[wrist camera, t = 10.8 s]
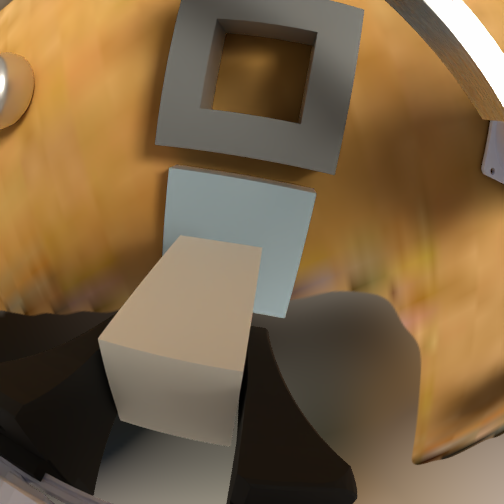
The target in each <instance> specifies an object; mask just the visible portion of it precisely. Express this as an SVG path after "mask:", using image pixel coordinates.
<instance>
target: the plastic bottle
mask: <svg viewBox="0 0 504 504" xmlns="http://www.w3.org/2000/svg"><path fill="white" fill-rule="evenodd" d="M33 90H34V73H33V70H32V68H31V66H30V64H29V63H28V61H27V60H26V59H25V58H24V57H22V56H20V55H17V54H14V53H9V52H6V53H0V130H1V129H3V128H6V127H8V126H10V125H13V124H14V123H15V122H17V121H18V119H19V118H20V117H21V116H22V115H23V114H24V113H25V111H26V110H27V108H28V106H29V104H30V101H31V98H32V95H33Z"/></svg>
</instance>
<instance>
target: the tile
mask: <svg viewBox="0 0 504 504" xmlns="http://www.w3.org/2000/svg"><path fill="white" fill-rule="evenodd" d="M315 198H316V192H315V190H314V188H309V187H304V186H300V185H295V184H290V183H285V182H280V181H275V180H269V179H264V178H259V177H253V176H248V175H242V174H236V173H230V172H224V171H218V170H211V169H205V168H198V167H191V166H184V165H175V166H172V167H170V168H169V174H168V184H167V194H166V206H165V220H164V235H163V254H162V256H163V255H164V254H165V253H166V251H167V250H168V249H169V248H170V247H171V245H172V244H173V243H174V242H175V241H176V240H177V238H178V237H179V236H180V235H183V236H189V237H196V238H203V239H209V240H216V241H223V242H229V243H236V244H242V245H249V246H256V247H262V253H261V260H260V267H259V273H258V280H257V287H256V293H255V300H254V306H253V313H258V314H264V315H269V316H275V317H280V318H285V315H286V312H287V308H288V304H289V301H290V297H291V294H292V290H293V286H294V282H295V279H296V275H297V271H298V267H299V263H300V260H301V256H302V252H303V248H304V244H305V240H306V236H307V232H308V228H309V223H310V219H311V215H312V211H313V207H314V202H315Z"/></svg>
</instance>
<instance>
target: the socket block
mask: <svg viewBox="0 0 504 504" xmlns="http://www.w3.org/2000/svg"><path fill="white" fill-rule="evenodd" d="M363 16H364V10H363V9H360V8H356V7H353V6H349V5H346V4H342V3H338V2H334V1H330V0H181V4H180V8H179V11H178V16H177V20H176V24H175V28H174V33H173V37H172V42H171V46H170V51H169V56H168V61H167V67H166V72H165V78H164V84H163V90H162V96H161V102H160V109H159V116H158V123H157V131H156V139H155V145H162V146H171V147H179V148H188V149H195V150H203V151H210V152H217V153H224V154H230V155H236V156H242V157H248V158H254V159H260V160H265V161H270V162H276V163H281V164H286V165H291V166H296V167H301V168H305V169H310V170H314V171H319V172H323V173H328V174H332V175H335V171H336V167H337V162H338V158H339V153H340V148H341V144H342V139H343V134H344V129H345V124H346V119H347V114H348V109H349V104H350V98H351V93H352V87H353V82H354V76H355V70H356V64H357V58H358V51H359V45H360V38H361V31H362V23H363ZM226 33H230V34H241V35H250V36H258V37H266V38H273V39H279V40H285V41H291V42H296V43H301V44H306V45H311V46H312V50H311V55H310V61H309V67H308V72H307V78H306V83H305V89H304V94H303V99H302V105H301V110H300V115H299V120H298V123H293V122H288V121H283V120H278V119H272V118H267V117H261V116H255V115H249V114H242V113H235V112H228V111H220V110H212V106H213V100H214V94H215V88H216V83H217V77H218V72H219V67H220V61H221V56H222V51H223V46H224V41H225V36H226Z"/></svg>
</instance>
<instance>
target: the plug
mask: <svg viewBox="0 0 504 504" xmlns="http://www.w3.org/2000/svg"><path fill="white" fill-rule="evenodd" d="M261 253H262V247H256V246H249V245H242V244H236V243H229V242H223V241H216V240H209V239H203V238H196V237H189V236H183V235H180V236H179V237H178V238H177V240H176V241H175V242H174V243H173V244H172V245H171V247H170V248H169V249H168V250H167V251H166V253H165V254H164V255H163V256H162V257H161V259H160V260H159V261H158V262H157V263H156V265H155V266H154V267H153V268H152V270H151V271H150V272H149V273H148V274H147V276H146V277H145V278H144V279H143V281H142V282H141V283H140V284H139V286H138V287H137V288H136V289H135V291H134V292H133V293H132V294H131V296H130V297H129V298H128V300H127V301H126V302H125V303H124V305H123V306H122V307H121V309H120V310H119V311H118V312H117V314H116V315H115V316H114V318H113V319H112V320H111V322H110V323H109V324H108V326H107V327H106V328H105V330H104V331H103V332H102V334H101V335H100V336H99V338H98V342H99V346H100V351H101V355H102V359H103V363H104V367H105V371H106V374H107V378H108V382H109V385H110V389H111V392H112V395H113V399H114V402H115V405H116V408H117V411H118V414H119V417H120V420H122V421H125V422H128V423H131V424H134V425H138V426H141V427H144V428H148V429H152V430H155V431H159V432H162V433H166V434H170V435H175V436H178V437H183V438H187V439H192V440H196V441H201V442H206V443H211V444H217V445H223V446H229V447H230V446H231V441H232V436H233V430H234V424H235V418H236V413H237V407H238V401H239V395H240V389H241V383H242V377H243V371H244V364H245V358H246V352H247V345H248V339H249V332H250V326H251V319H252V313H253V306H254V300H255V293H256V287H257V280H258V273H259V267H260V260H261Z"/></svg>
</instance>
